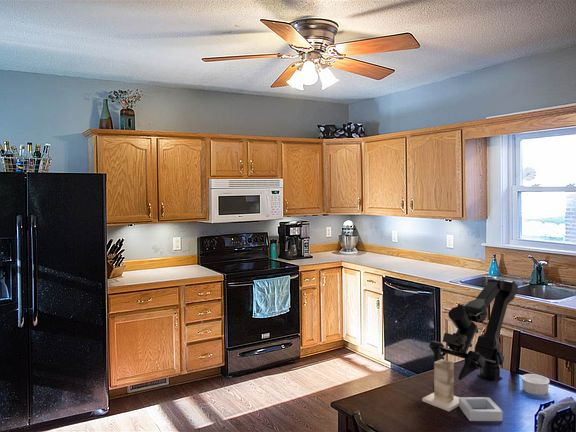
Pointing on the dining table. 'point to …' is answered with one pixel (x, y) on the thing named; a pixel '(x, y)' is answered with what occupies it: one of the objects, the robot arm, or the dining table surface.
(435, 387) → the peg
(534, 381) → the ramekin
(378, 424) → the dining table surface
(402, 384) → the dining table surface
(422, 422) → the dining table surface
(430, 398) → the tile
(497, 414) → the holder
